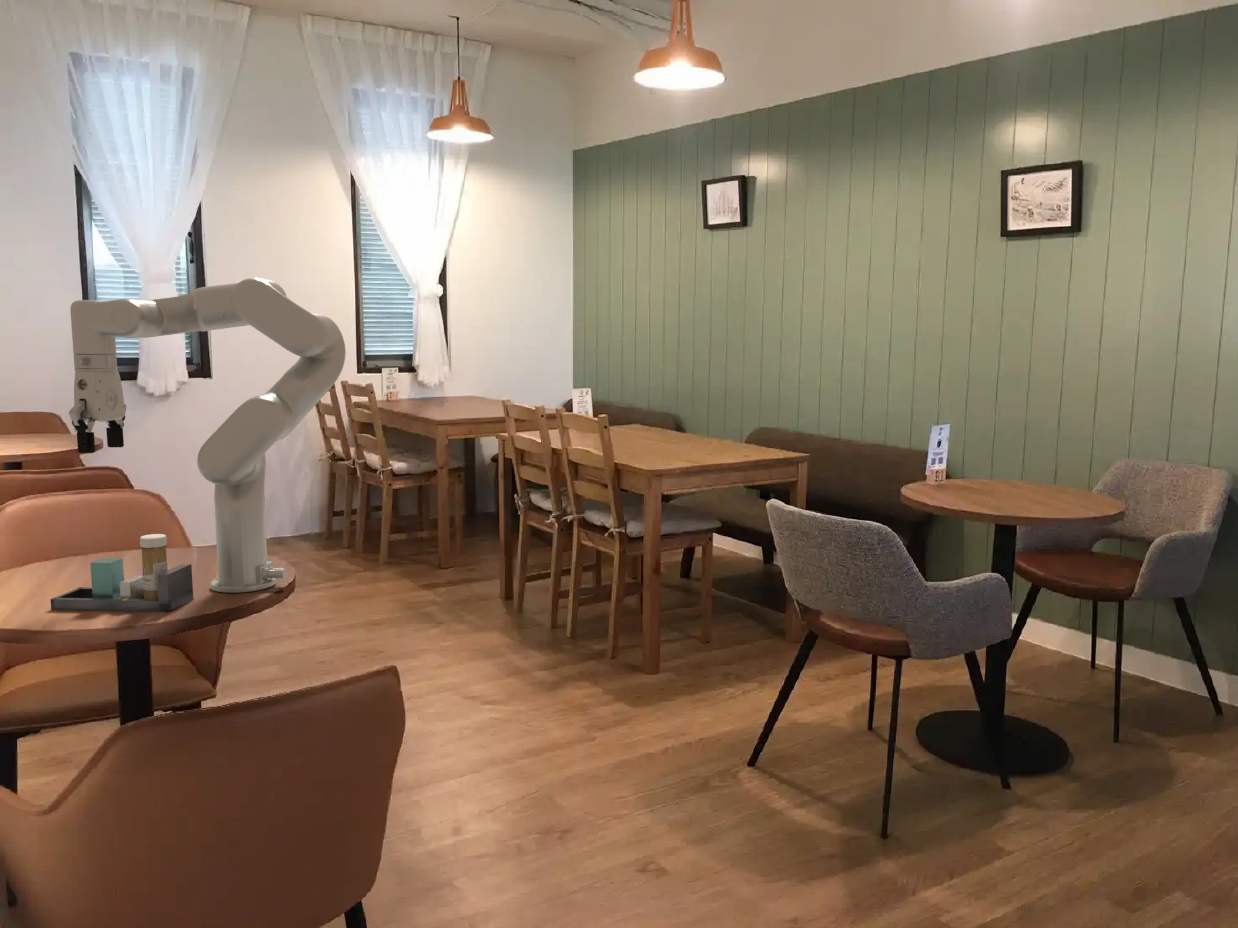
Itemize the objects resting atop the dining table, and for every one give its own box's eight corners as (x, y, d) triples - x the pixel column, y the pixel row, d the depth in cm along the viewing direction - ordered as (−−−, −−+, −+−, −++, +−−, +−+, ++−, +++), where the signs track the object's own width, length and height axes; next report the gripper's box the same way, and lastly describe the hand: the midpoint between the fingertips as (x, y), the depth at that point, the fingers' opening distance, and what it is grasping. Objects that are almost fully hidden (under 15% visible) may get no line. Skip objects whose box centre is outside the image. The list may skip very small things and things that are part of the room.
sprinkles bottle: (139, 605, 191) (135, 535, 189) (163, 600, 194) (159, 532, 193) (150, 609, 188) (146, 538, 186) (174, 604, 191) (170, 535, 190)
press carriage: (148, 598, 194) (145, 557, 193) (130, 606, 188) (127, 564, 187) (108, 597, 195) (105, 556, 194) (90, 605, 189) (87, 563, 188)
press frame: (193, 599, 195) (191, 564, 194) (169, 611, 186) (166, 574, 185) (80, 597, 197) (78, 562, 196) (51, 609, 188) (48, 572, 187)
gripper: (87, 364, 189) (93, 455, 191) (138, 362, 206) (143, 445, 209) (49, 364, 190) (56, 454, 192) (103, 362, 207) (108, 445, 209)
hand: (101, 449), depth 200 cm, fingers open, 9 cm apart
